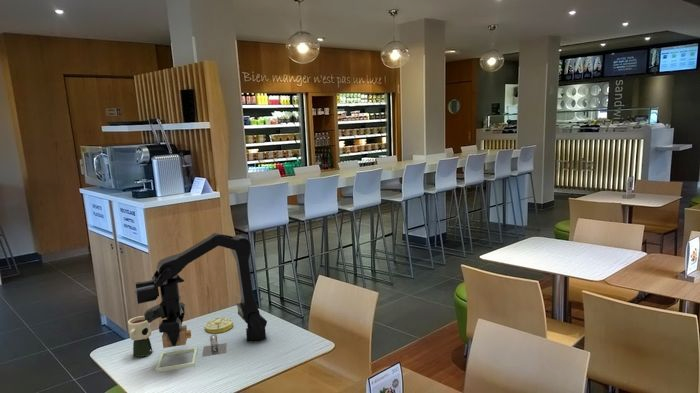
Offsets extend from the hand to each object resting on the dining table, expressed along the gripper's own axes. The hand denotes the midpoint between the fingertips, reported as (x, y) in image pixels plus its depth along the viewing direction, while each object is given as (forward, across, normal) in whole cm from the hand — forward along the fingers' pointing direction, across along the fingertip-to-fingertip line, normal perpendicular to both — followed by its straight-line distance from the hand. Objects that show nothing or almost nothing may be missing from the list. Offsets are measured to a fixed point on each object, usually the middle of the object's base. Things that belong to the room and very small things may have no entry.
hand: (175, 340), depth 159 cm
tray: (+8, 0, 0) cm, 8 cm away
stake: (+8, -4, +12) cm, 15 cm away
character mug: (+8, -11, -13) cm, 19 cm away
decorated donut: (+8, -23, +13) cm, 28 cm away
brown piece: (0, 0, 0) cm, 0 cm away
